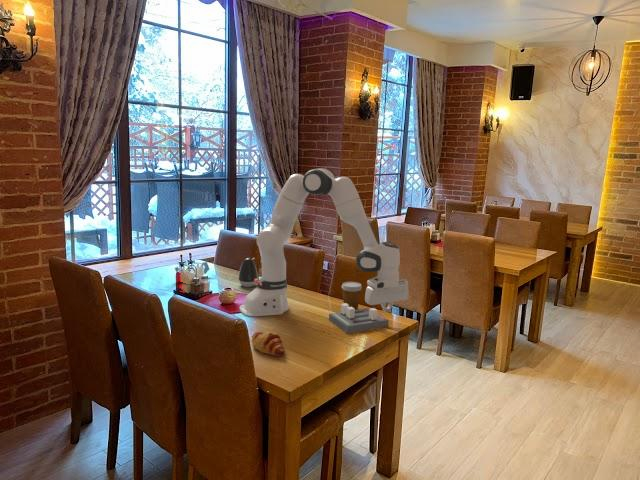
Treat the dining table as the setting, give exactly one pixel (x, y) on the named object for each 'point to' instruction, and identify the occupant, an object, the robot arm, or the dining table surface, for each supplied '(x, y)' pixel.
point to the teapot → (196, 263)
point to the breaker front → (373, 313)
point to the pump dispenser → (248, 273)
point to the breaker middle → (350, 312)
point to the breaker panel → (357, 321)
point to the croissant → (268, 343)
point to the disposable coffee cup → (351, 293)
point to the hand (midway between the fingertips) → (386, 312)
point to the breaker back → (344, 308)
